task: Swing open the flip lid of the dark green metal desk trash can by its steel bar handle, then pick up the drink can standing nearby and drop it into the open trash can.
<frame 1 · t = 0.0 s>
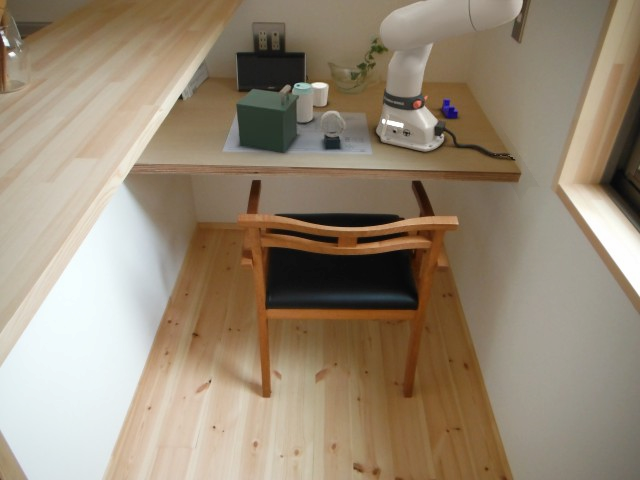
lid: (267, 93, 138), point 15 cm above the table, hinge at 0.0°
trash can: (269, 140, 148), on the table
watch: (331, 145, 147), on the table
white cup: (319, 104, 172), on the table
cable holder: (448, 114, 168), on the table
can: (302, 120, 161), on the table
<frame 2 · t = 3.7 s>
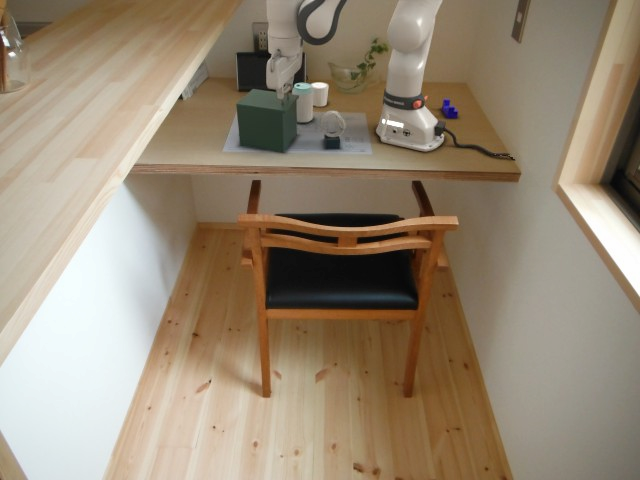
hand: (285, 93, 137), 16 cm above the table, tool pointing down, fingers closed on lid, 5 cm apart
lid: (267, 93, 138), point 15 cm above the table, hinge at -0.1°, touching gripper
everything else where it was.
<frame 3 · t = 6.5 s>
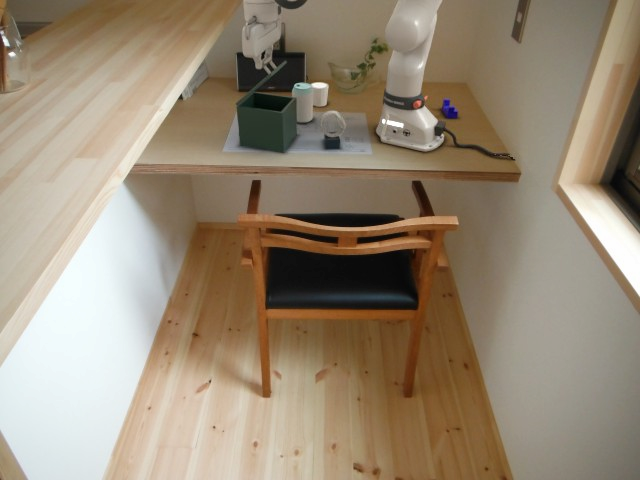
hand: (264, 64, 133), 24 cm above the table, tool pointing down, fingers closed on lid, 5 cm apart
lid: (256, 77, 136), point 20 cm above the table, hinge at 41.6°, touching gripper
everything else where it was.
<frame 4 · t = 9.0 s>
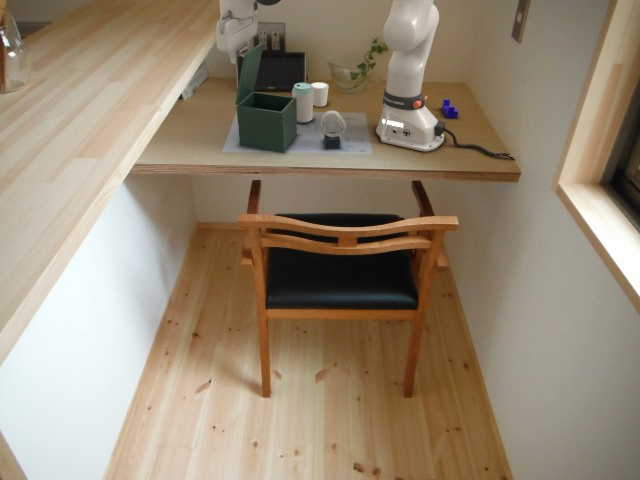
hand: (239, 59, 134), 24 cm above the table, tool pointing down, fingers closed on lid, 5 cm apart
lid: (243, 71, 136), point 21 cm above the table, hinge at 73.9°, touching gripper
everything else where it was.
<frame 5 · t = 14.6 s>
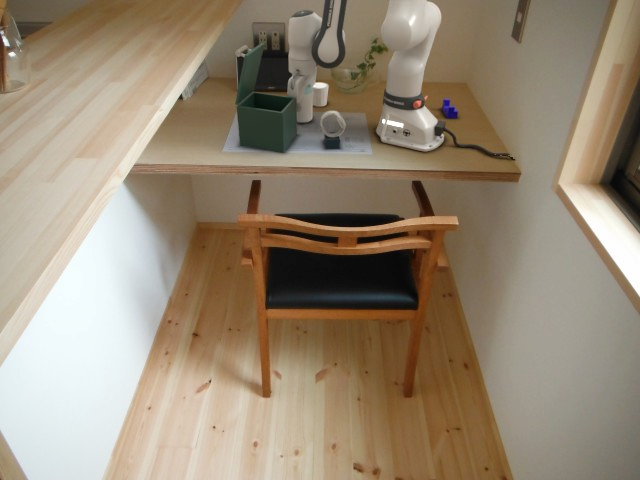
hand: (301, 106, 158), 5 cm above the table, tool pointing down, fingers closed on can, 7 cm apart
lid: (243, 71, 136), point 21 cm above the table, hinge at 73.2°
can: (302, 120, 161), on the table, touching gripper
everything else where it was.
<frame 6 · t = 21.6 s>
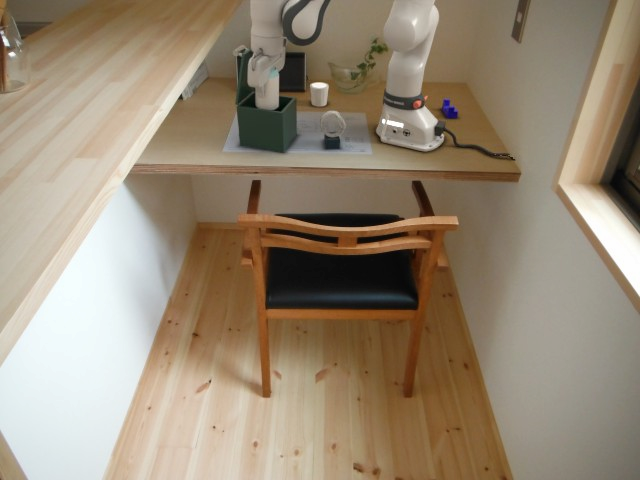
hand: (266, 92, 138), 16 cm above the table, tool pointing down, fingers closed on can, 7 cm apart
lid: (241, 70, 136), point 21 cm above the table, hinge at 76.4°, touching arm
can: (267, 108, 141), point 11 cm above the table, touching gripper
everything else where it was.
when the fingers open (16 cm above the table, at t = 21.8 s): can drops 10 cm, resting on trash can.
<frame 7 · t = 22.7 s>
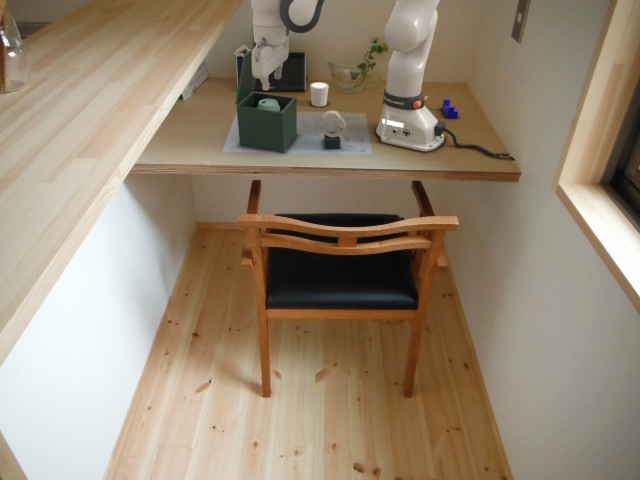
hand: (272, 83, 136), 18 cm above the table, tool pointing down, fingers open, 8 cm apart
lid: (242, 70, 136), point 21 cm above the table, hinge at 74.3°
can: (270, 138, 147), point 1 cm above the table, touching trash can
everything else where it was.
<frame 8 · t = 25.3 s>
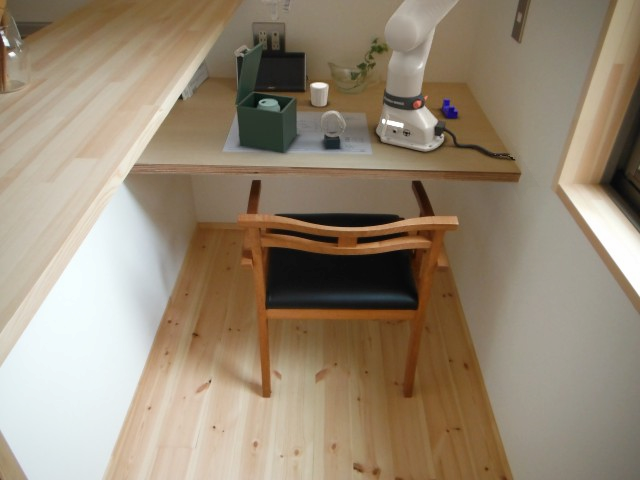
hand: (280, 15, 132), 35 cm above the table, tool pointing down, fingers open, 8 cm apart
nothing on the table moved.
at the end: lid at +74° (first picture: +0°); can inside the target area in the trash can (0.4 cm from its centre), point 0.6 cm above the trash can's base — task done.
